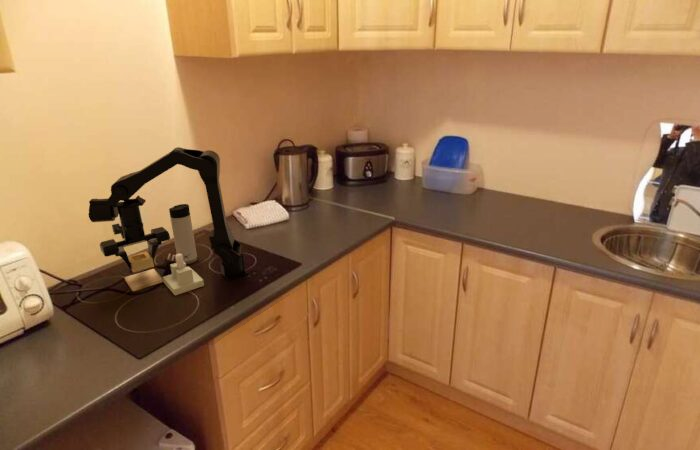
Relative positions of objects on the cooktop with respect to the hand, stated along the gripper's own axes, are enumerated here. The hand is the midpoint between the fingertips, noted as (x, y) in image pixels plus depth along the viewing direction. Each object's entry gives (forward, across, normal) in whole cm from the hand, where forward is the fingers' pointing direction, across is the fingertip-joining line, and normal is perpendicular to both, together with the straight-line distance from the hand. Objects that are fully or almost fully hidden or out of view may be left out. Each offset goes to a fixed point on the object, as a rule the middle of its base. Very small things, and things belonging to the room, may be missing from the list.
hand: (141, 266), depth 143 cm
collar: (0, 0, 0) cm, 0 cm away
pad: (+5, 0, 0) cm, 5 cm away
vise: (+5, -9, +10) cm, 14 cm away
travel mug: (+6, -16, -5) cm, 18 cm away
